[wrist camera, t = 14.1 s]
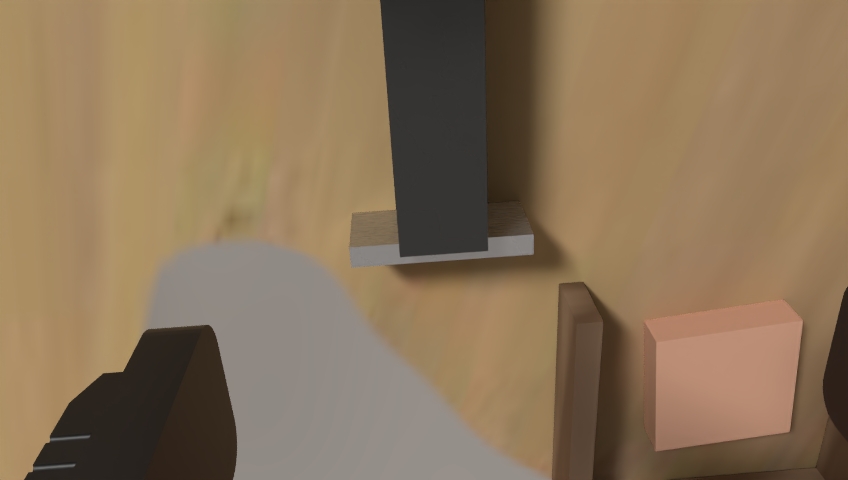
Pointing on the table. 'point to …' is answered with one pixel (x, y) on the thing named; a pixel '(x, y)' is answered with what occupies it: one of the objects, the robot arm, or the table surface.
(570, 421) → the bay
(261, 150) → the table surface
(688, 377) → the tile
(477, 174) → the long dark grey beam
